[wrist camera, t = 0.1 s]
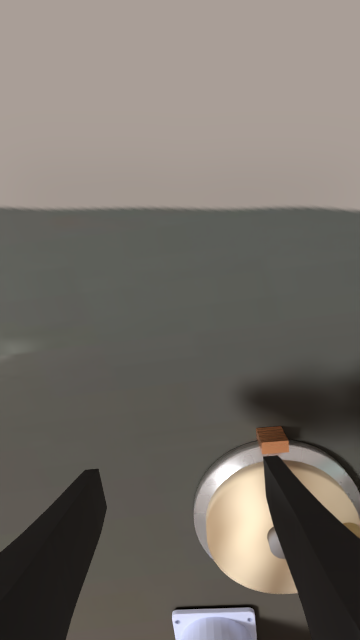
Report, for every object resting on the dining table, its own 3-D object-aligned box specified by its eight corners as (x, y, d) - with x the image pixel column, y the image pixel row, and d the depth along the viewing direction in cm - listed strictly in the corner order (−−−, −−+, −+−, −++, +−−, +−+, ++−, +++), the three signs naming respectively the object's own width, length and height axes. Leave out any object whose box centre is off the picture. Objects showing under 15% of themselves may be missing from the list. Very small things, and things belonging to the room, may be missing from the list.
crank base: (355, 567, 24) (368, 591, 23) (202, 574, 25) (203, 597, 24) (357, 419, 21) (372, 434, 20) (183, 434, 22) (182, 448, 21)
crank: (213, 580, 24) (218, 661, 19) (198, 465, 22) (200, 524, 17) (361, 574, 23) (406, 657, 18) (363, 453, 21) (416, 512, 16)
